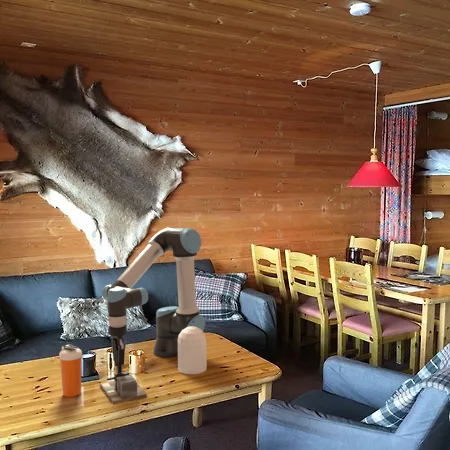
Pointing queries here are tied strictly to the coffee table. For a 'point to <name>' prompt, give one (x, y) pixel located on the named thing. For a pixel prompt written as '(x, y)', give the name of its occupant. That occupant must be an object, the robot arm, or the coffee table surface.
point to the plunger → (118, 376)
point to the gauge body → (123, 389)
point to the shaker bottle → (71, 370)
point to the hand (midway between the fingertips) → (119, 379)
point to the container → (192, 351)
